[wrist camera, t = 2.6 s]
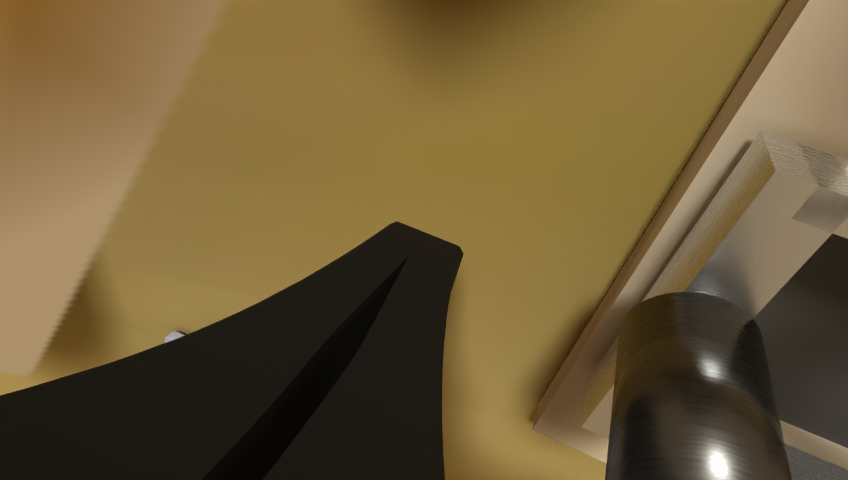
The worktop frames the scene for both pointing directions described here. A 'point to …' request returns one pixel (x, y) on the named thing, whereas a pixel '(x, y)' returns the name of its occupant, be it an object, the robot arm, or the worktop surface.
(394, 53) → the worktop surface
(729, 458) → the slider frame
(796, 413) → the tunnel deck
